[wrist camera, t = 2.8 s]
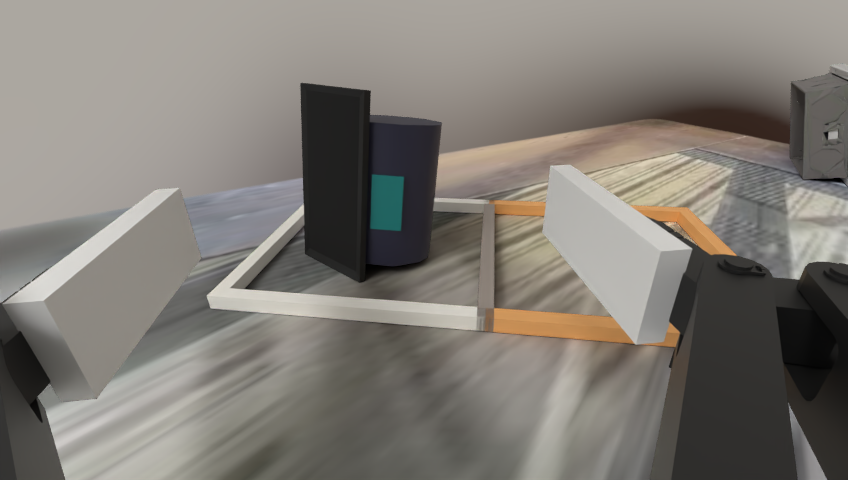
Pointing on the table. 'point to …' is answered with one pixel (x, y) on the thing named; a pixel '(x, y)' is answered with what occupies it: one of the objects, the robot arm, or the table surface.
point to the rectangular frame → (442, 315)
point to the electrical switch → (820, 125)
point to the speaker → (365, 181)
